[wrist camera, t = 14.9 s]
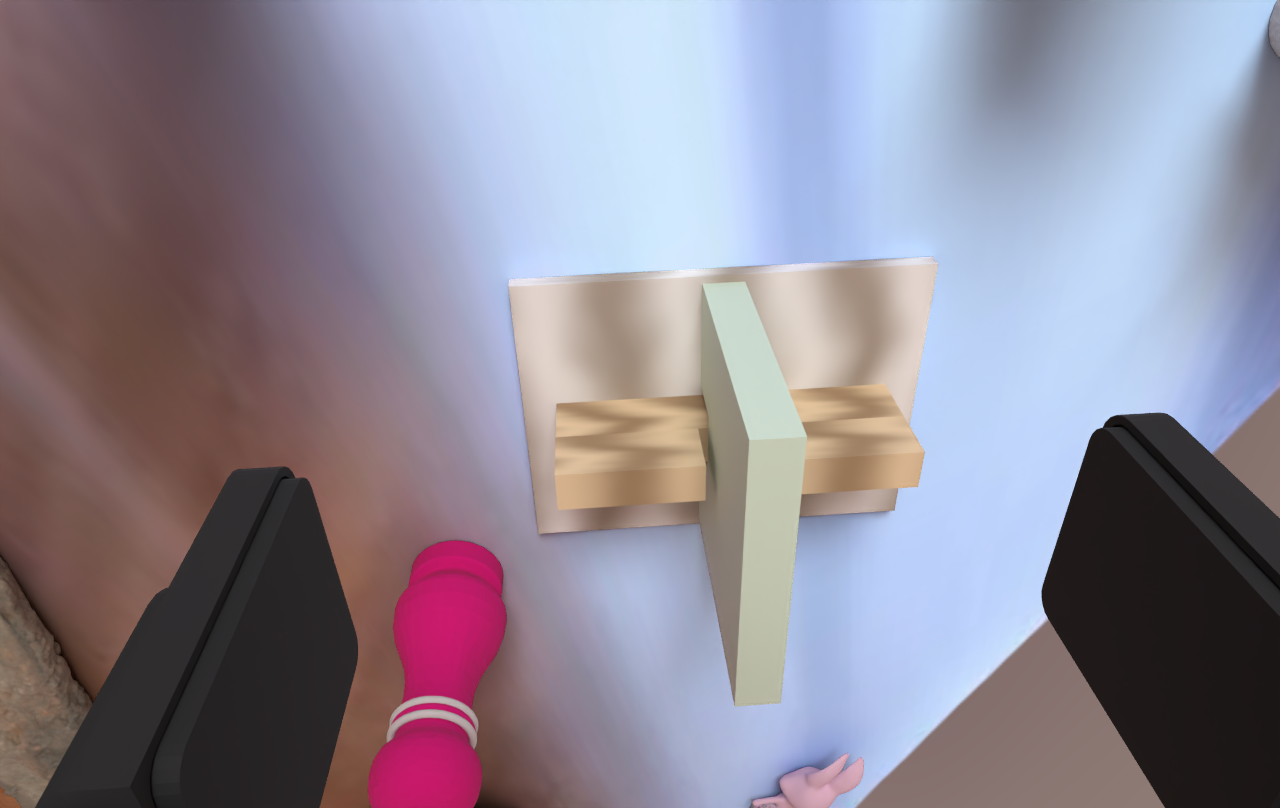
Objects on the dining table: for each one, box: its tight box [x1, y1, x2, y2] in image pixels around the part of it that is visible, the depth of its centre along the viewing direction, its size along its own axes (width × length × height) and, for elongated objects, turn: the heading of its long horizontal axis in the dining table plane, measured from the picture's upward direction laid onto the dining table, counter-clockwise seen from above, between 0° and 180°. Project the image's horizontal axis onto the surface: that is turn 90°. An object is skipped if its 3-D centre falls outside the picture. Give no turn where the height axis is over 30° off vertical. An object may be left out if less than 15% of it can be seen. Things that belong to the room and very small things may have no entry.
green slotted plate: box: [699, 282, 807, 706], centre depth 46 cm, size 17×2×15 cm, turn 1°
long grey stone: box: [0, 557, 93, 808], centre depth 61 cm, size 35×5×10 cm
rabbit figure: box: [750, 753, 864, 808], centre depth 73 cm, size 6×6×15 cm
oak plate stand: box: [508, 257, 938, 534], centre depth 50 cm, size 24×18×8 cm
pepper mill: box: [368, 541, 507, 808], centre depth 51 cm, size 7×7×20 cm
